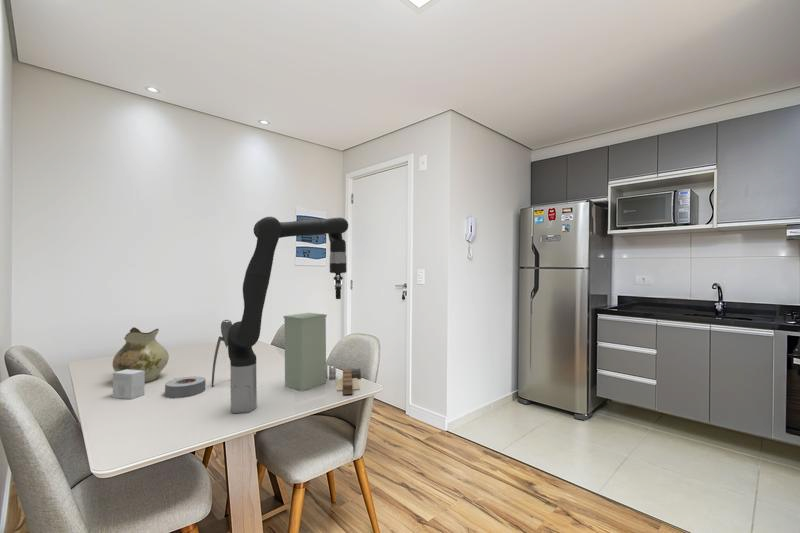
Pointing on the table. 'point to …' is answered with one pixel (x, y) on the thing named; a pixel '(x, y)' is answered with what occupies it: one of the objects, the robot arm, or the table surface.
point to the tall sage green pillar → (305, 350)
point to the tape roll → (184, 387)
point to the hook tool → (349, 379)
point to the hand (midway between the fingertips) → (338, 298)
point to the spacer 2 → (332, 372)
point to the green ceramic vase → (141, 354)
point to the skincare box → (128, 384)
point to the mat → (354, 384)
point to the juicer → (224, 330)
